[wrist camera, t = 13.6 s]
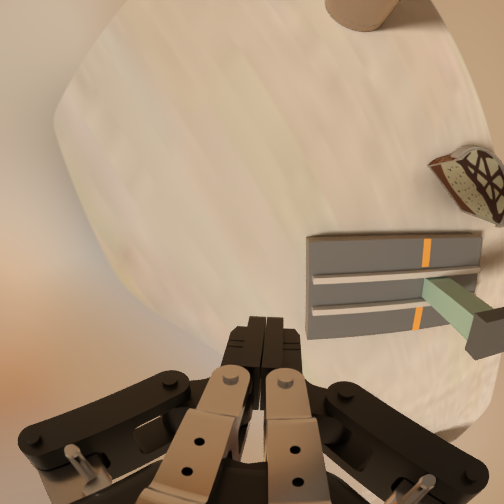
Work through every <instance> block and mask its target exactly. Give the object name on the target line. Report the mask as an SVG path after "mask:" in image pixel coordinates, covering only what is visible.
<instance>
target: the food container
mask: <svg viewBox="0 0 504 504" xmlns="http://www.w3.org/2000/svg"><path fill="white" fill-rule="evenodd" d="M428 167H429V168H430V170H431V171H432V172H433V173H434V175H435V176H436V177H437V179H438V180H439V181H440V183H441V184H442V185H443V187H444V188H445V189H446V191H447V192H448V193H449V195H450V196H451V198H452V199H453V200H454V202H455V203H456V205H457V206H458V208H459V209H460V211H462V212H465V213H467V214H470V215H473V216H476V217H478V218H481V219H483V220H486V221H489V222H491V223H494V224H496V226H495V227H500V228H501V227H504V165H503V163H502V162H501V160H500V159H499V158H498V157H497V156H496V155H495V154H494V153H492V152H491V151H489V150H487V149H486V148H482V147H479V146H475V145H466V146H463V147H460V148H458V149H457V150H456V151H455V152H453V154H451V155H447V156H444V157H440V158H437V159H435V160H433V161H432V162H430V163H429V165H428Z"/></svg>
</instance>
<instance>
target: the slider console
mask: <svg viewBox="0 0 504 504" xmlns="http://www.w3.org/2000/svg"><path fill="white" fill-rule="evenodd" d="M481 245H482V237H480V236H477V235H474V234H408V235H363V236H326V237H306V325H305V330H306V335H307V340H312V339H328V338H342V337H354V336H365V335H375V334H384V333H393V332H401V331H409V330H418V329H423V328H429V327H436V326H442V325H448V324H450V323H449V322H448V321H447V320H446V319H445V318H444V317H443V316H442V315H441V314H440V313H438V312H437V311H436V310H435V309H434V308H433V307H432V306H431V305H430V304H429V303H428V302H427V301H426V300H424V299H423V298H422V291H423V284H424V278H429V277H441V276H448V277H449V278H451V279H452V280H454V281H455V282H456V283H458V284H459V285H461V286H462V287H464V288H465V289H467V290H468V291H470V292H471V293H472V294H474V292H475V286H476V281H477V275H478V273H480V271H481V267H479V261H480V254H481ZM474 295H475V296H476V294H474Z"/></svg>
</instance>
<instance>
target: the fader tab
mask: <svg viewBox="0 0 504 504" xmlns="http://www.w3.org/2000/svg"><path fill="white" fill-rule="evenodd" d="M422 298H423V299H424V300H426V301H427V302H428V303H429V304H430V305H431V306H432V307H433V308H434V309H435V310H436V311H437V312H438V313H440V314H441V315H442V316H443V317H444V318H445V319H446V320H447V321H448V322H449V323H450V324H451V325H452V326H453V327H454V328H455V329H456V330H457V331H458V332H459V333H460V334H461V335H462V336H463V337H464V338H465V339H466V340H467V343H466V346H465V350H466V351H467V352H468V353H469V354H470V355H471V356H472V358H473V359H474V360H478V359H482V358H485V357H488V356H492V355H495V354H498V353H501V352H504V307H502V308H497V309H493V308H492V307H491V306H489V305H488V304H486V303H485V302H484V301H482V300H481V299H480V298H478V297H477V296H475V295H474V294H472V293H471V292H470V291H468V290H467V289H465V288H464V287H462V286H461V285H459V284H458V283H456V282H455V281H454V280H452V279H451V278H449V277H448V276H441V277H429V278H424V284H423V291H422Z"/></svg>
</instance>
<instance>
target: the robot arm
mask: <svg viewBox="0 0 504 504" xmlns="http://www.w3.org/2000/svg"><path fill="white" fill-rule="evenodd" d="M399 1H400V0H325V5H326V9H327V11H328V13H329V14H330V15H331V17H332V18H333V19H335V20H336V21H337V22H338V23H340V24H341V25H343V26H345V27H347V28H350V29H352V30H356V31H365V32H367V31H373V30H375V29H377V28H378V27H380V26H381V24H382V23H383V22H384V20H385V19H386V18H387V17H388V15H389V14H390V13H391V11H392V10H393V9H394V8H395V6H396V5H397V4H398V2H399ZM260 392H261V398H260ZM259 400H260V410H264V425H263V429H264V430H263V437H264V439H263V447H264V451H263V453H264V454H263V457H264V459H263V462H258V463H250V464H247V463H242V462H241V457H242V453H243V449H244V446H245V442H246V438H247V434H248V430H249V426H250V420H251V417H252V411H253V410H258V409H259ZM158 416H161V417H159V418H157V419H155V420H153V421H151V422H149V423H147V424H145V425H143V426H141V427H139V428H137V427H138V426H140V425H142V424H144V423H146V422H148V421H150V420H152V419H154V418H156V417H158ZM135 428H137V429H135ZM18 446H19V448H20V450H21V451H22V452H23V453H24V455H25V456H26V457H27V458H28V459H29V460H30V462H31V464H32V465H33V466H34V467H35V468H36V469H37V471H38V472H39V475H40V477H41V479H42V482H43V485H44V487H45V489H46V492H47V494H48V496H49V498H50V501H51V503H52V504H370V503H369V502H368V501H366V500H365V499H364V498H363V497H362V496H361V495H359V494H358V493H357V492H356V491H355V490H353V489H352V488H351V487H350V486H349V485H348V484H347V483H346V482H344V481H343V480H342V479H340V478H339V477H337V476H336V475H334V474H332V473H329V472H327V471H326V469H325V463H324V457H323V453H324V454H326V455H327V456H328V457H329V458H330V459H331V460H333V461H334V462H335V463H336V464H338V466H340V467H341V468H342V469H343V470H345V471H346V472H347V473H348V474H349V475H351V476H352V477H353V478H354V479H356V480H357V481H358V482H359V483H361V484H362V485H363V486H364V487H366V488H367V489H368V490H370V491H371V492H372V493H374V494H375V495H376V496H378V497H379V498H380V499H382V500H383V501H384V502H385V503H384V504H466V503H468V502H469V501H470V500H471V499H472V498H473V497H475V496H476V495H477V494H478V493H479V492H480V491H481V490H482V489H484V488H485V486H486V485H487V483H488V480H489V471H488V469H487V467H486V465H485V464H484V463H483V462H481V461H480V460H478V459H476V458H474V457H473V456H471V455H469V454H467V453H465V452H464V451H462V450H460V449H459V448H457V447H455V446H453V445H452V444H450V443H448V442H447V441H445V440H443V439H442V438H440V437H438V436H437V435H435V434H433V433H432V432H430V431H428V430H427V429H425V428H424V427H422V426H420V425H419V424H417V423H416V422H414V421H412V420H411V419H409V418H408V417H406V416H404V415H403V414H401V413H400V412H398V411H397V410H395V409H393V408H392V407H390V406H389V405H387V404H386V403H384V402H383V401H381V400H380V399H378V398H377V397H375V396H374V395H372V394H371V393H369V392H368V391H366V390H365V389H363V388H362V387H360V386H359V385H357V384H355V383H352V382H347V381H342V382H336V383H334V384H332V385H330V386H329V387H328V389H326V388H321V387H318V386H315V385H312V384H311V383H309V382H308V381H307V380H306V379H305V378H304V376H303V373H302V360H301V345H300V335H299V334H298V333H297V331H296V330H295V329H283V318H280V317H267V324H266V317H257V316H250V317H249V322H248V326H247V327H242V326H237V327H236V328H235V329H234V330H233V331H232V332H231V333H230V336H229V341H228V343H227V347H226V350H225V353H224V356H223V360H222V363H221V366H220V367H219V368H217V369H216V370H214V371H213V373H212V375H211V377H209V378H207V379H202V380H193V381H189V378H188V377H187V376H186V375H185V374H184V373H182V372H179V371H174V370H169V371H164V372H161V373H158V374H156V375H154V376H152V377H150V378H148V379H146V380H143V381H141V382H139V383H137V384H134V385H132V386H130V387H127V388H125V389H123V390H121V391H118V392H116V393H114V394H111V395H109V396H107V397H104V398H102V399H99V400H97V401H95V402H92V403H89V404H87V405H84V406H82V407H80V408H77V409H74V410H72V411H69V412H66V413H64V414H61V415H59V416H56V417H53V418H50V419H48V420H45V421H42V422H39V423H36V424H33V425H30V426H28V427H26V428H25V429H23V430H22V431H21V433H20V434H19V437H18ZM165 453H166V455H165V457H164V459H163V460H159V461H156V462H154V463H152V464H150V465H148V466H146V467H144V468H142V469H141V470H139V471H137V472H135V473H133V474H131V475H129V476H127V477H126V478H124V479H122V480H120V481H118V482H116V483H114V484H112V480H113V479H115V478H118V477H120V476H122V475H124V474H126V473H128V472H131V471H133V470H135V469H137V468H139V467H141V466H143V465H145V464H146V463H149V462H150V461H152V460H154V459H156V458H158V457H160V456H162V455H163V454H165Z"/></svg>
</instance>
